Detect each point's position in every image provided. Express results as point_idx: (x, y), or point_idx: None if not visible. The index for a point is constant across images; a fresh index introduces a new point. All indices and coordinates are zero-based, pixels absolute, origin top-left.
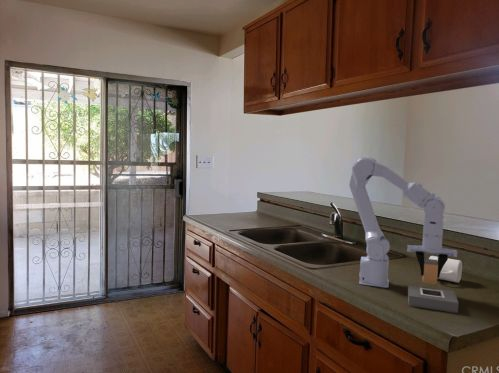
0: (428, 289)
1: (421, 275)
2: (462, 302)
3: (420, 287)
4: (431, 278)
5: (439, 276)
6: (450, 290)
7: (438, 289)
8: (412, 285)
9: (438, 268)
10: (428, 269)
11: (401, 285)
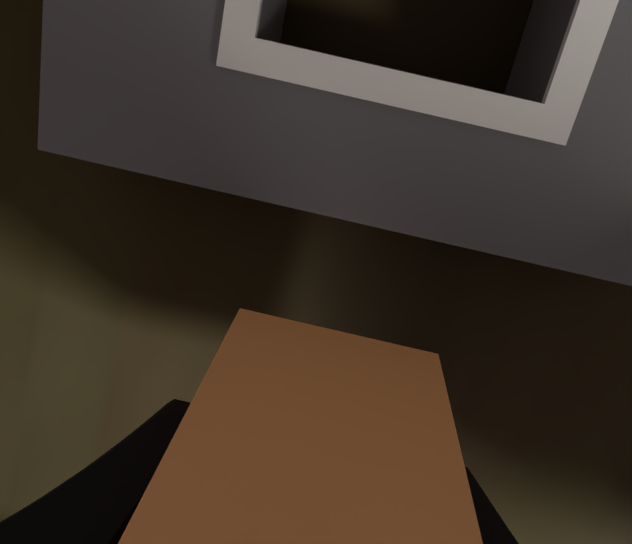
0: (440, 86)
1: (465, 468)
2: (3, 74)
3: (528, 198)
4: (314, 369)
5: None
6: (80, 149)
7: (256, 158)
8: (628, 271)
9: (125, 509)
10: (375, 505)
11: (573, 517)
